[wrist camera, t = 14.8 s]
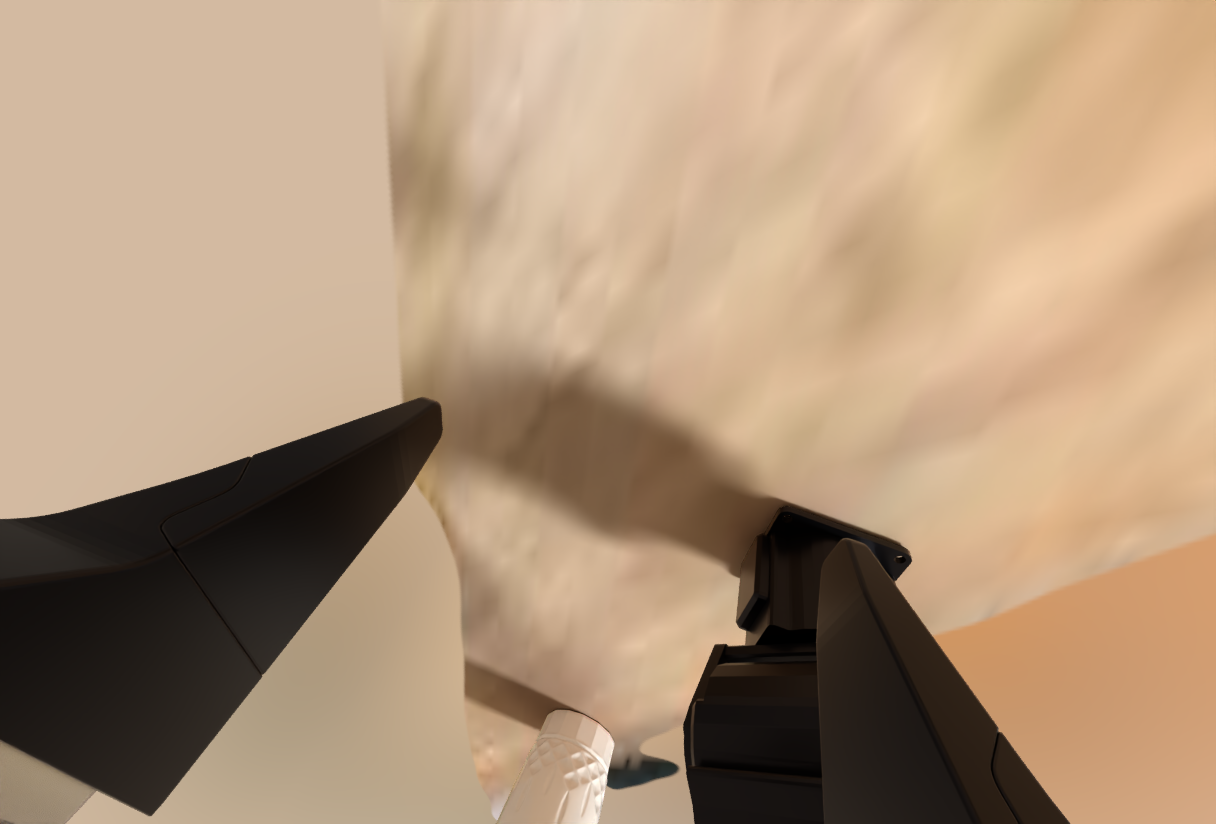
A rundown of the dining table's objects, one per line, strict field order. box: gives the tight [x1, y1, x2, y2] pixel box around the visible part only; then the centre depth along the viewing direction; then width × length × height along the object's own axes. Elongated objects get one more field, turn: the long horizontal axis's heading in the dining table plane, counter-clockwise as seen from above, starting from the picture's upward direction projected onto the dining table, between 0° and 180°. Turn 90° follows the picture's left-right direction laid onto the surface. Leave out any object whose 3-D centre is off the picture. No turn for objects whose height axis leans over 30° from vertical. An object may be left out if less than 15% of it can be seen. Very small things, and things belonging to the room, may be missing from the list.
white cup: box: [496, 710, 614, 824], centre depth 39 cm, size 8×8×10 cm
